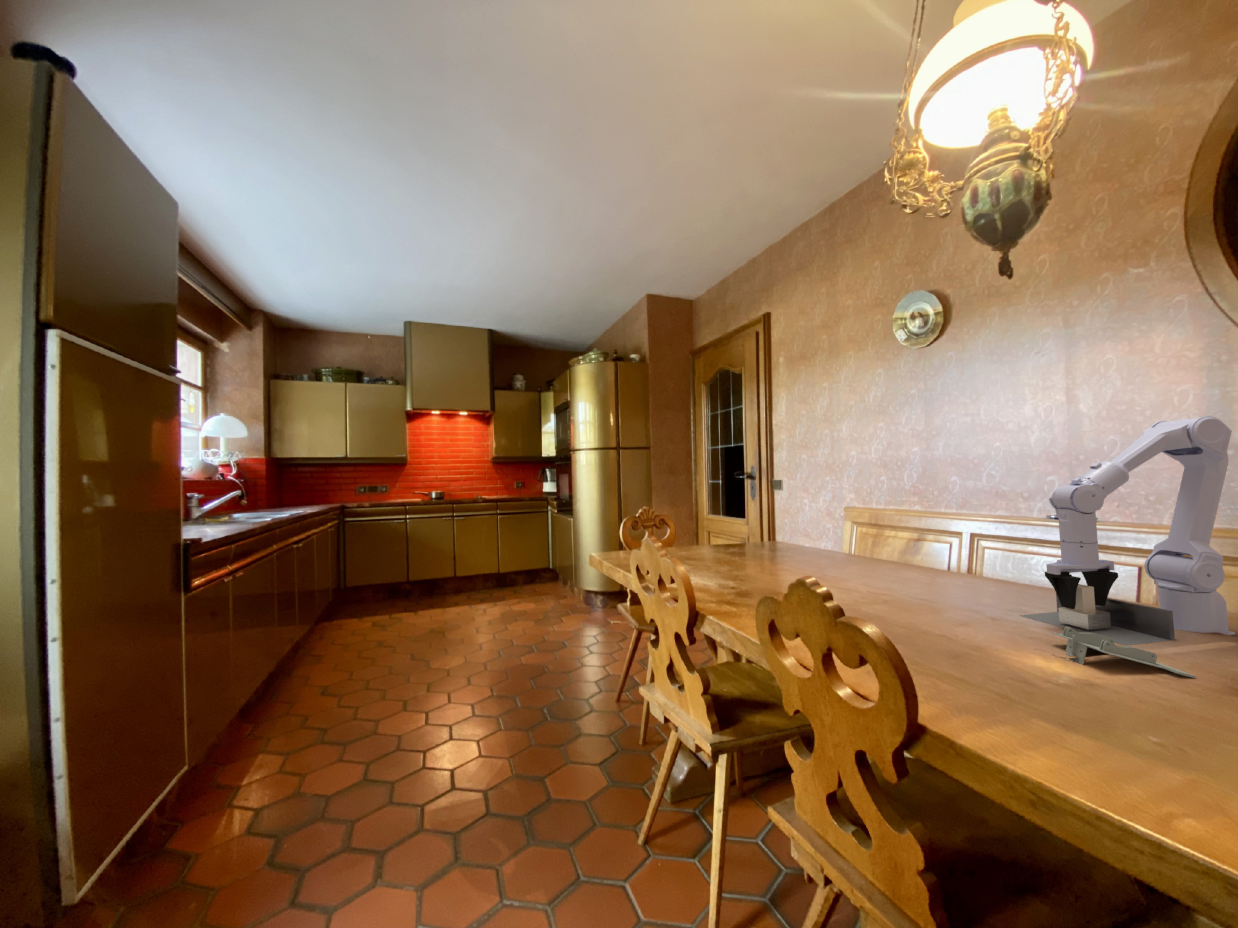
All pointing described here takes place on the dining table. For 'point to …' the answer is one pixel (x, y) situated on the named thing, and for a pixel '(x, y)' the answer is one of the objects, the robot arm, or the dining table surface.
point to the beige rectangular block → (1085, 599)
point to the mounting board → (1099, 630)
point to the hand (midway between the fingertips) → (1083, 606)
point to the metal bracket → (1108, 649)
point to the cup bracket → (1122, 618)
